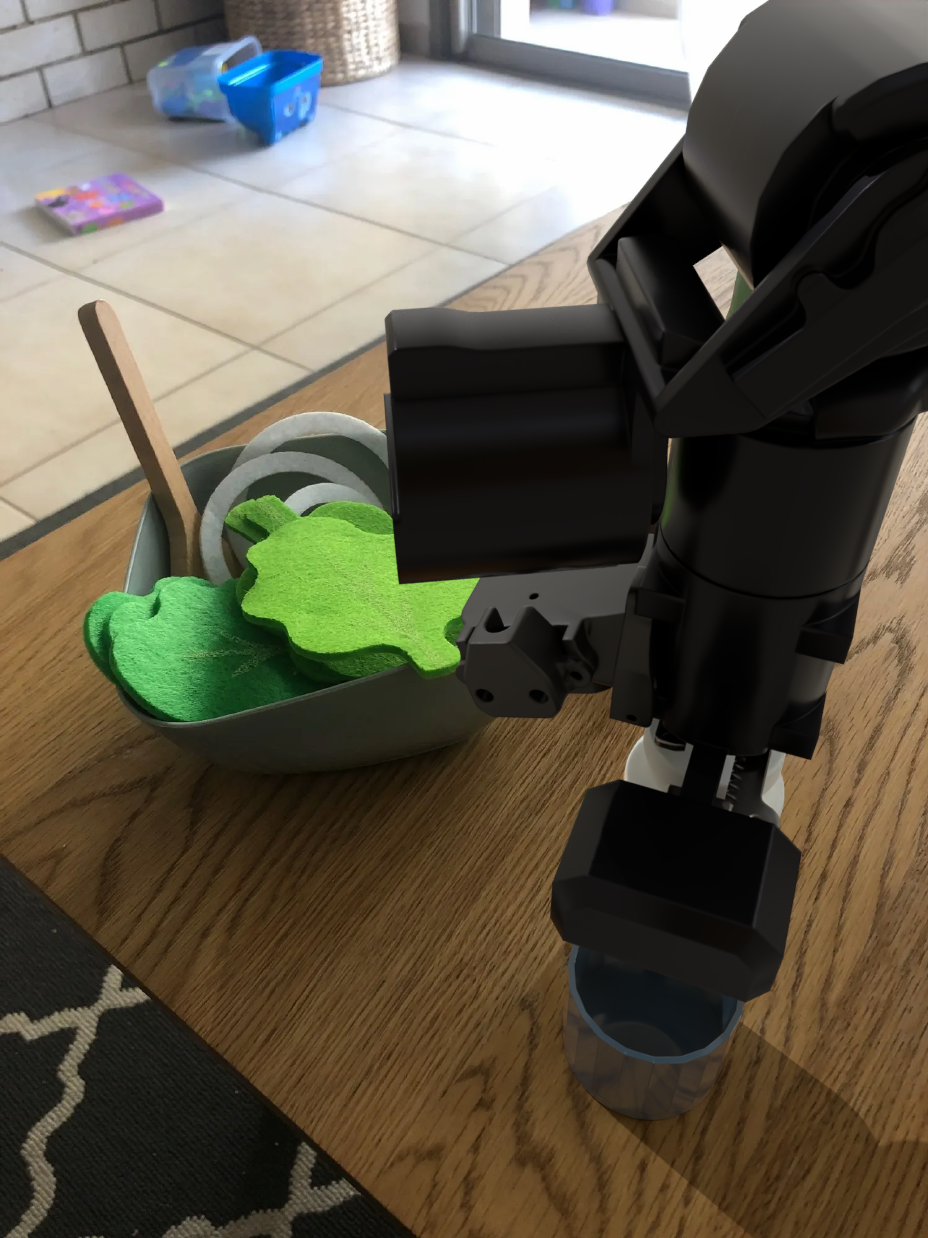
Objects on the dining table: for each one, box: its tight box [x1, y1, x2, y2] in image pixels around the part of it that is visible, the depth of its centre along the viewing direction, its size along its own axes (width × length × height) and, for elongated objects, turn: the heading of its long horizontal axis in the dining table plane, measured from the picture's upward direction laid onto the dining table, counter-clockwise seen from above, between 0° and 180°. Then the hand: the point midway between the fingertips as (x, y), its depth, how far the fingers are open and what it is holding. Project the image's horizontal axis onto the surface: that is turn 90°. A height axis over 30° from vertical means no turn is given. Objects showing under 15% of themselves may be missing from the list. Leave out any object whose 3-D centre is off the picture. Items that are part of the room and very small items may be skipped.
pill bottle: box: [622, 718, 787, 820], centre depth 37 cm, size 6×6×10 cm
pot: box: [562, 944, 745, 1121], centre depth 44 cm, size 7×7×6 cm
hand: (690, 847), depth 39 cm, fingers closed on pill bottle, 6 cm apart
